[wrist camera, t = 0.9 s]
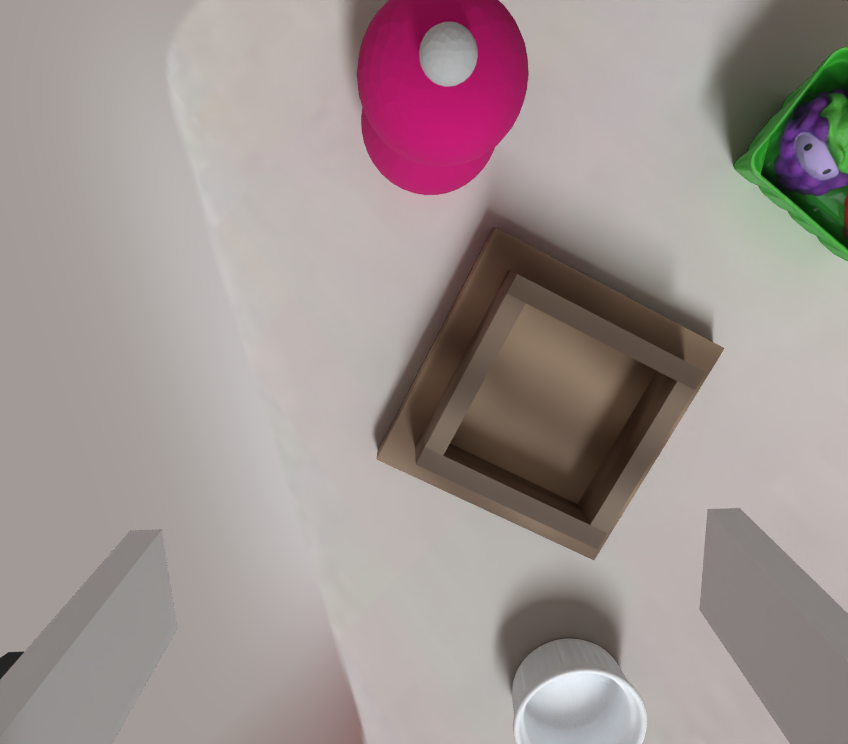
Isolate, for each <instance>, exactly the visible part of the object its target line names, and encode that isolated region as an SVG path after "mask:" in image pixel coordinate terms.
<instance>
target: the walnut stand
mask: <svg viewBox="0 0 848 744" xmlns="http://www.w3.org/2000/svg"><path fill="white" fill-rule="evenodd" d="M723 350H724V348H723V347H721V346H719V345H717V344H715V343H713V342H712V341H710V340H708V339H706V338H704V337H702V336H700V335H698V334H696V333H695V332H693V331H691V330H689V329H687V328H685V327H683V326H681V325H679V324H677V323H676V322H674V321H672V320H670V319H668V318H666V317H664V316H662V315H660V314H659V313H657V312H655V311H653V310H651V309H649V308H647V307H645V306H643V305H641V304H640V303H638V302H636V301H634V300H632V299H630V298H628V297H626V296H624V295H623V294H621V293H619V292H617V291H615V290H613V289H611V288H609V287H607V286H605V285H604V284H602V283H600V282H598V281H596V280H594V279H592V278H590V277H588V276H587V275H585V274H583V273H581V272H579V271H577V270H575V269H573V268H571V267H570V266H568V265H566V264H564V263H562V262H560V261H558V260H556V259H554V258H552V257H551V256H549V255H547V254H545V253H543V252H541V251H539V250H537V249H535V248H534V247H532V246H530V245H528V244H526V243H524V242H522V241H520V240H518V239H516V238H515V237H513V236H511V235H509V234H507V233H505V232H503V231H501V230H499V229H498V228H493V229H492V231H491V233H490V235H489V237H488V239H487V241H486V243H485V245H484V247H483V249H482V250H481V252H480V254H479V256H478V258H477V260H476V262H475V264H474V266H473V268H472V270H471V272H470V274H469V276H468V277H467V279H466V281H465V283H464V285H463V287H462V289H461V291H460V293H459V295H458V297H457V299H456V301H455V303H454V305H453V306H452V308H451V310H450V312H449V314H448V316H447V318H446V320H445V322H444V324H443V326H442V328H441V330H440V332H439V334H438V335H437V337H436V339H435V341H434V343H433V345H432V347H431V349H430V351H429V353H428V355H427V357H426V359H425V361H424V362H423V364H422V366H421V368H420V370H419V372H418V374H417V376H416V378H415V380H414V382H413V384H412V386H411V388H410V390H409V391H408V393H407V395H406V397H405V399H404V401H403V403H402V405H401V407H400V409H399V411H398V413H397V415H396V417H395V418H394V420H393V422H392V424H391V426H390V428H389V430H388V432H387V434H386V436H385V438H384V440H383V442H382V444H381V446H380V447H379V449H378V452H377V460H379V461H381V462H384V463H386V464H388V465H390V466H392V467H394V468H396V469H399V470H401V471H403V472H405V473H407V474H409V475H412V476H414V477H416V478H418V479H420V480H422V481H424V482H427V483H429V484H431V485H433V486H435V487H437V488H440V489H442V490H444V491H446V492H448V493H450V494H452V495H455V496H457V497H459V498H461V499H463V500H465V501H468V502H470V503H472V504H474V505H476V506H478V507H480V508H483V509H485V510H487V511H489V512H491V513H493V514H496V515H498V516H500V517H502V518H504V519H506V520H508V521H511V522H513V523H515V524H517V525H519V526H521V527H524V528H526V529H528V530H530V531H532V532H534V533H536V534H539V535H541V536H543V537H545V538H547V539H549V540H552V541H554V542H556V543H558V544H560V545H562V546H564V547H567V548H569V549H571V550H573V551H575V552H577V553H579V554H582V555H584V556H586V557H588V558H590V559H592V560H595V558H596V556H597V555H598V553H599V551H600V550H601V548H602V547H603V545H604V543H605V542H606V540H607V538H608V537H609V535H610V534H611V532H612V530H613V529H614V527H615V525H616V524H617V522H618V521H619V519H620V517H621V516H622V514H623V512H624V511H625V509H626V508H627V506H628V504H629V503H630V501H631V499H632V498H633V496H634V495H635V493H636V491H637V490H638V488H639V486H640V485H641V483H642V482H643V480H644V478H645V477H646V475H647V473H648V472H649V470H650V469H651V467H652V465H653V464H654V462H655V460H656V459H657V457H658V456H659V454H660V452H661V451H662V449H663V447H664V446H665V444H666V443H667V441H668V439H669V438H670V436H671V434H672V433H673V431H674V430H675V428H676V426H677V425H678V423H679V421H680V420H681V418H682V417H683V415H684V413H685V412H686V410H687V408H688V407H689V405H690V404H691V402H692V400H693V399H694V397H695V395H696V394H697V392H698V391H699V389H700V387H701V386H702V384H703V382H704V381H705V379H706V378H707V376H708V374H709V373H710V371H711V370H712V368H713V366H714V365H715V363H716V361H717V360H718V358H719V357H720V355H721V353H722V352H723Z"/></svg>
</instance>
